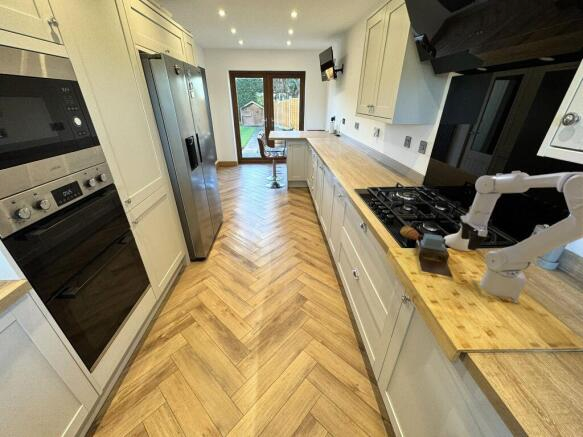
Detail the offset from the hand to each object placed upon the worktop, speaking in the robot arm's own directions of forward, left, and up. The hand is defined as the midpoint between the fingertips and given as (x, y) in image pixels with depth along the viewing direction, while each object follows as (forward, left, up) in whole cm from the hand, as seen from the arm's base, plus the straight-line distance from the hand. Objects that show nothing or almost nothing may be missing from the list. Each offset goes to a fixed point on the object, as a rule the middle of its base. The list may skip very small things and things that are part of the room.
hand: (467, 243), depth 86 cm
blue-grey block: (+10, -2, -5) cm, 11 cm away
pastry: (+16, -17, -10) cm, 25 cm away
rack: (+10, +2, -9) cm, 14 cm away
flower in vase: (-3, -15, -10) cm, 18 cm away
